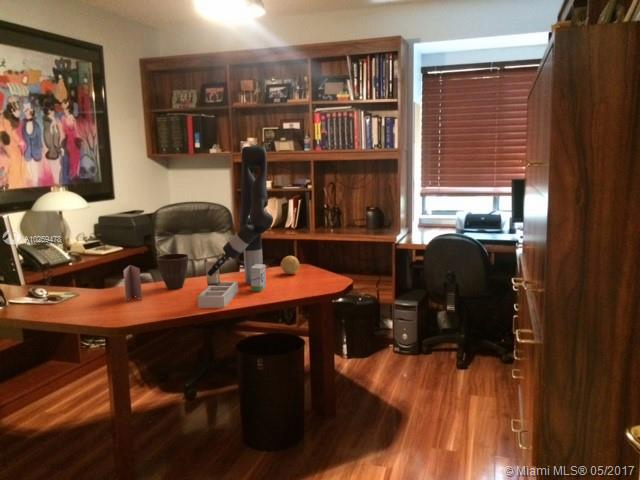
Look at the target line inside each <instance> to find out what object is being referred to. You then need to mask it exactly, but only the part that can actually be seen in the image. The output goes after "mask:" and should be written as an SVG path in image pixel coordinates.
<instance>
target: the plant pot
mask: <svg viewBox="0 0 640 480" xmlns="http://www.w3.org/2000/svg"><path fill="white" fill-rule="evenodd" d="M156 259H157V265H158V268H159V271H160V275H161V277H162V281H163V282H164V284H165V287H166V288H167V290H171V291H175V290H181V289H183V287H184V284H185V281H186V276H187V273H188V272H187V271H188V266H189V265H188V264H189V255H188V254H186V253H169V254H163V255H158V256H157V257H156Z"/></svg>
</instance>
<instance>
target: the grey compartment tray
mask: <svg viewBox="0 0 640 480" xmlns="http://www.w3.org/2000/svg"><path fill="white" fill-rule="evenodd" d="M218 285H231V286H208V287H207V288H205V289H204V290H203V291H202V292H201V293H200V294H199V295H198V296H197V308H199V309H202V308H203V309H209V308H212V309H215V308H217V309H224V308H226V306H227V305H228V304H229V303H230V302H231V301H232V299H233V298H234V297H235V296H236V295H237V294H238V293H239V285H238V281H220V283H219V284H218ZM211 290H227V291H211Z"/></svg>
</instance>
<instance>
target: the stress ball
mask: <svg viewBox="0 0 640 480" xmlns="http://www.w3.org/2000/svg"><path fill="white" fill-rule="evenodd" d="M280 268H281V270H282V271H283V272H284V273H285V274H287V275H289V274H291V275H294V274H295V273H297V271H299V268H300V261H299V260H298V258H297V257H296V256H293V255H288V256H285V257H283V259H282V260H281V261H280Z"/></svg>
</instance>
